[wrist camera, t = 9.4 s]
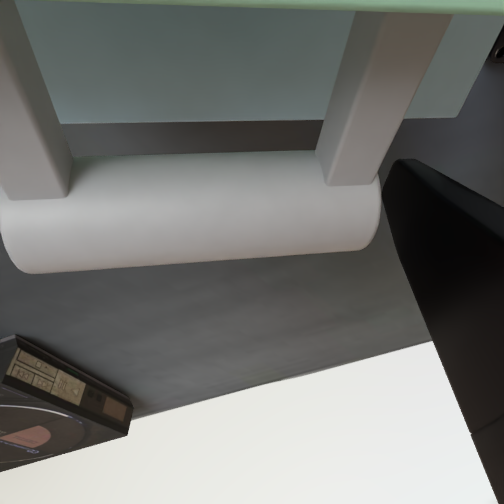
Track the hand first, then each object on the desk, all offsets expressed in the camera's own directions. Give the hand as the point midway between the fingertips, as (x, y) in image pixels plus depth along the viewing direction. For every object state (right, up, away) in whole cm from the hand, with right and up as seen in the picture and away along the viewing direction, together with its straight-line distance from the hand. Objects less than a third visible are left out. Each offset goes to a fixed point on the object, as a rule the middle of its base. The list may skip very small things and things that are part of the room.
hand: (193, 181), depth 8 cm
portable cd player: (-22, -15, +30) cm, 40 cm away
